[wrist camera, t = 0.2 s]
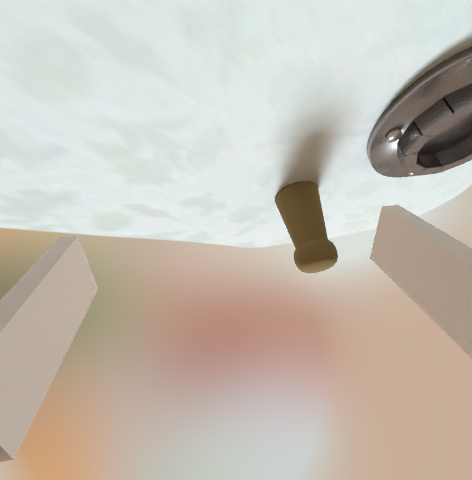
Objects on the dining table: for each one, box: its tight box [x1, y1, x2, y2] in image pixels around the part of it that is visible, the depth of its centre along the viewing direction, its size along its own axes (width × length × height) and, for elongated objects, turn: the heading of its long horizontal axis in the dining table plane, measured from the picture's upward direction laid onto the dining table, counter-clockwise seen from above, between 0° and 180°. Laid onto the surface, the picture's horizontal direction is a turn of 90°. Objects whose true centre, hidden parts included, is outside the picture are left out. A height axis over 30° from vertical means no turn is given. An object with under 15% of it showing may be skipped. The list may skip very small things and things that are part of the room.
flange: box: [367, 47, 472, 177], centre depth 28 cm, size 16×16×3 cm
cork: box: [275, 182, 338, 273], centre depth 35 cm, size 6×6×11 cm
